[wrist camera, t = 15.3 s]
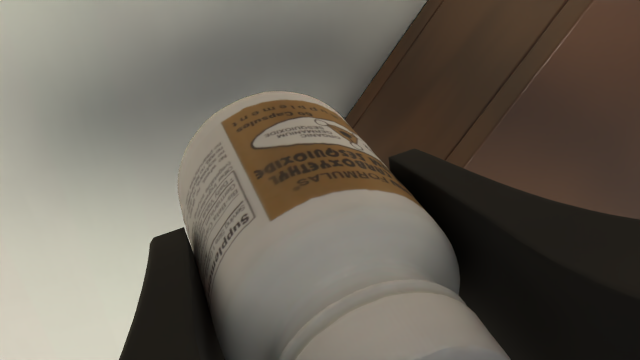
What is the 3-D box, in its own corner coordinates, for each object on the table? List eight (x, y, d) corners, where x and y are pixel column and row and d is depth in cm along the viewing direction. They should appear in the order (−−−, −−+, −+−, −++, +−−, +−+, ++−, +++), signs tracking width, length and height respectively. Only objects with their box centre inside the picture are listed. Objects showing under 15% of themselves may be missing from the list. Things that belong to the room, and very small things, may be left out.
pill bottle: (381, 114, 15) (608, 335, 9) (309, 258, 16) (458, 533, 10) (213, 59, 13) (353, 299, 6) (149, 230, 14) (212, 557, 8)
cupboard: (509, 236, 29) (606, 330, 24) (329, 139, 23) (407, 238, 18) (637, 81, 27) (776, 148, 22) (477, -71, 21) (617, -31, 16)
